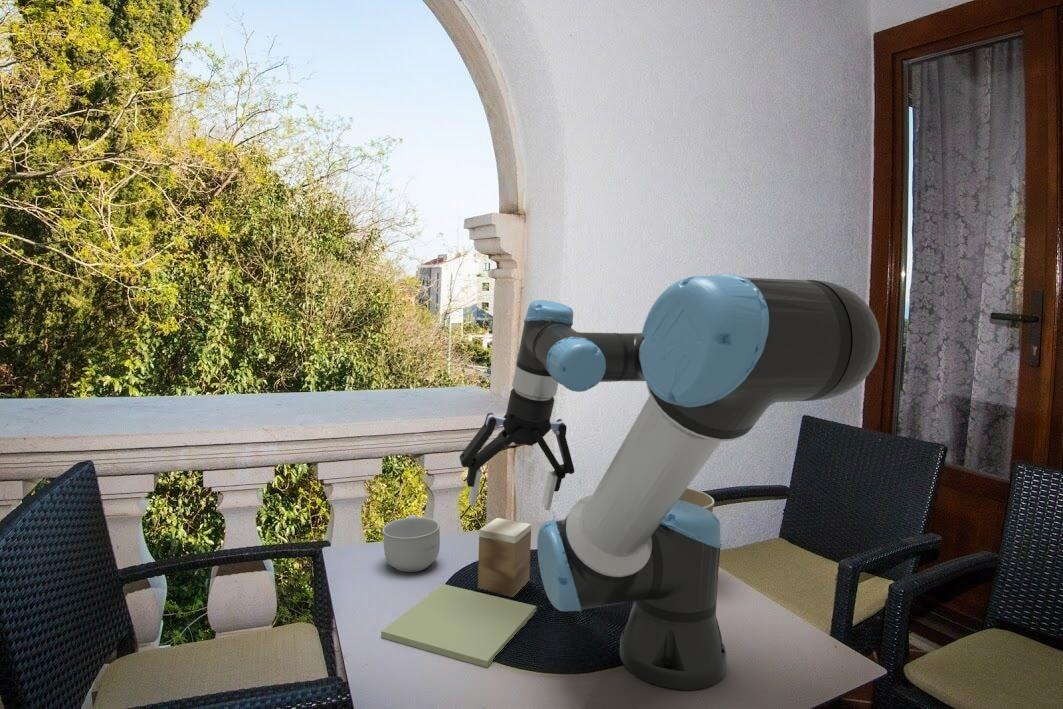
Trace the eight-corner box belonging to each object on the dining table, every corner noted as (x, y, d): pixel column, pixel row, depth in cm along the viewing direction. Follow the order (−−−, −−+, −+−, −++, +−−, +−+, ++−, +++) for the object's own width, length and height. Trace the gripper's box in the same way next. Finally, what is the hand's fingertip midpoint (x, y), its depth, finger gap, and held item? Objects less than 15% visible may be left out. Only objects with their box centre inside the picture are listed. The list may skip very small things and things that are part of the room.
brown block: (529, 582, 118) (531, 524, 117) (513, 598, 111) (515, 536, 110) (495, 574, 120) (496, 517, 119) (477, 589, 114) (479, 529, 113)
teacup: (434, 579, 117) (434, 536, 117) (375, 576, 118) (375, 534, 117) (445, 549, 131) (446, 511, 131) (393, 547, 132) (393, 509, 131)
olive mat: (536, 611, 106) (536, 606, 106) (487, 667, 90) (487, 661, 90) (442, 589, 113) (442, 583, 113) (381, 637, 97) (381, 631, 97)
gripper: (594, 391, 114) (569, 496, 120) (457, 376, 107) (436, 489, 113) (609, 408, 107) (581, 518, 113) (463, 393, 100) (441, 512, 106)
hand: (509, 504), depth 113 cm, fingers open, 13 cm apart
